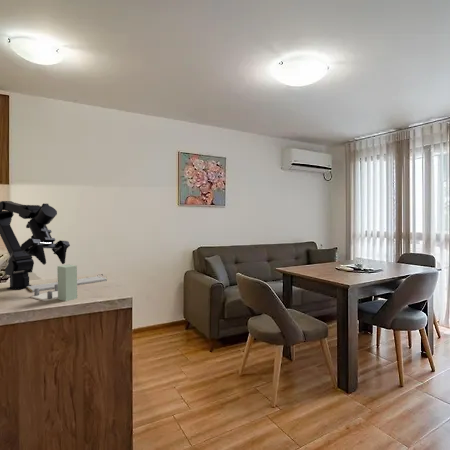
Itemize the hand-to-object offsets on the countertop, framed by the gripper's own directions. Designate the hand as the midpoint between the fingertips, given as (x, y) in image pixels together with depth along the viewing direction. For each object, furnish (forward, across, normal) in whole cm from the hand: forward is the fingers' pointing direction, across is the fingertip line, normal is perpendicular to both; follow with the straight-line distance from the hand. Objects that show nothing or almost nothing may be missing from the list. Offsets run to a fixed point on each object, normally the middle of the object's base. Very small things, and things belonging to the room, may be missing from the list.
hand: (54, 263), depth 120 cm
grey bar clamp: (+3, -19, -14) cm, 24 cm away
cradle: (+10, -1, -7) cm, 12 cm away
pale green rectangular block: (+15, +1, 0) cm, 15 cm away
